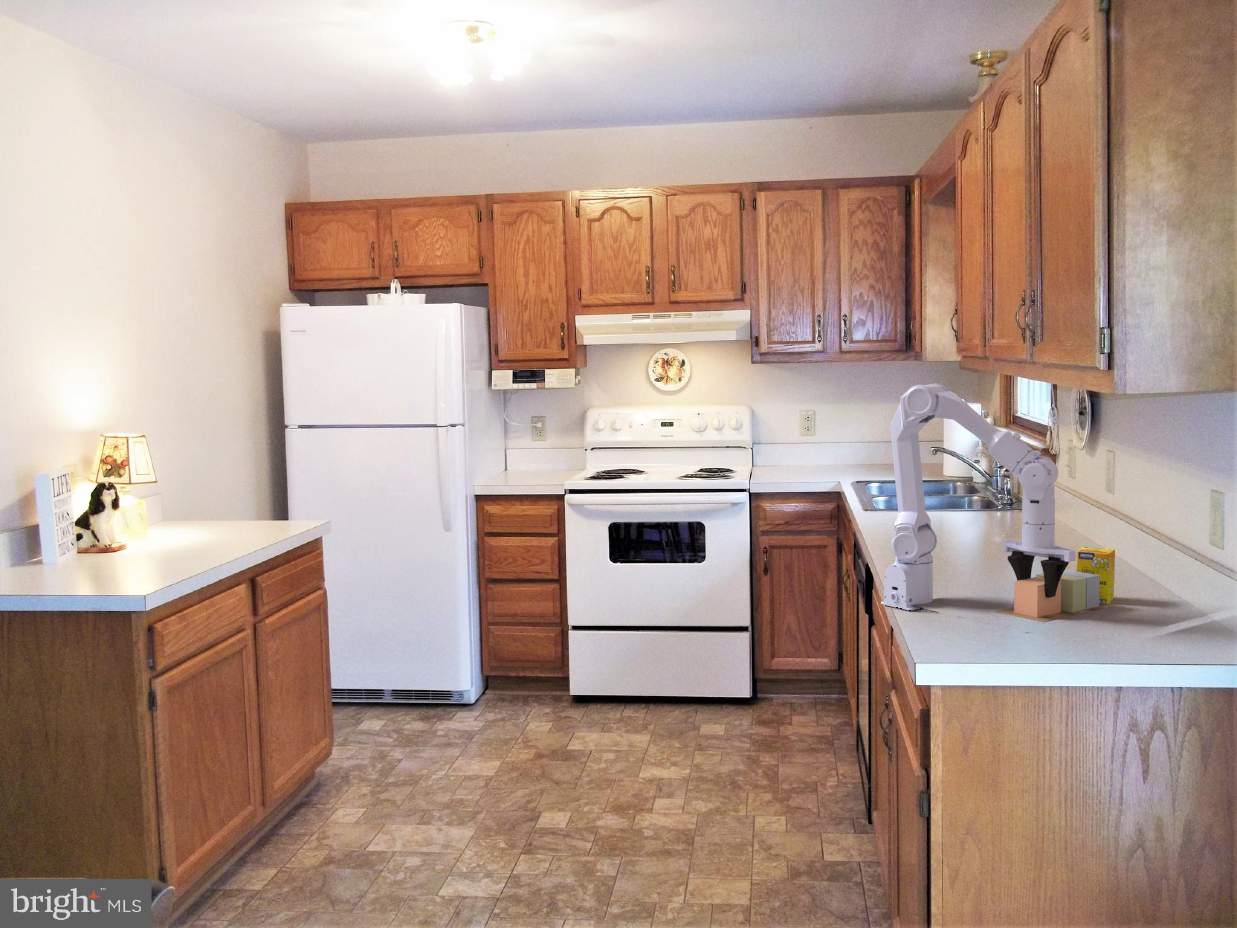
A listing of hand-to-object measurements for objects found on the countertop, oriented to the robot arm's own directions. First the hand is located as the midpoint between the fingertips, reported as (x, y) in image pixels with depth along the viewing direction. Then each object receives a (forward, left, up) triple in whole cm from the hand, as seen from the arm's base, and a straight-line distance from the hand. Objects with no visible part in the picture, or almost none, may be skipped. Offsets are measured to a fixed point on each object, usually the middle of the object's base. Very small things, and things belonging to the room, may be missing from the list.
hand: (1037, 594), depth 206 cm
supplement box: (+18, 0, -5) cm, 19 cm away
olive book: (+7, 0, -3) cm, 8 cm away
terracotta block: (0, 0, -3) cm, 3 cm away
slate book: (+11, 0, -3) cm, 12 cm away
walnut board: (+4, 0, -4) cm, 6 cm away
